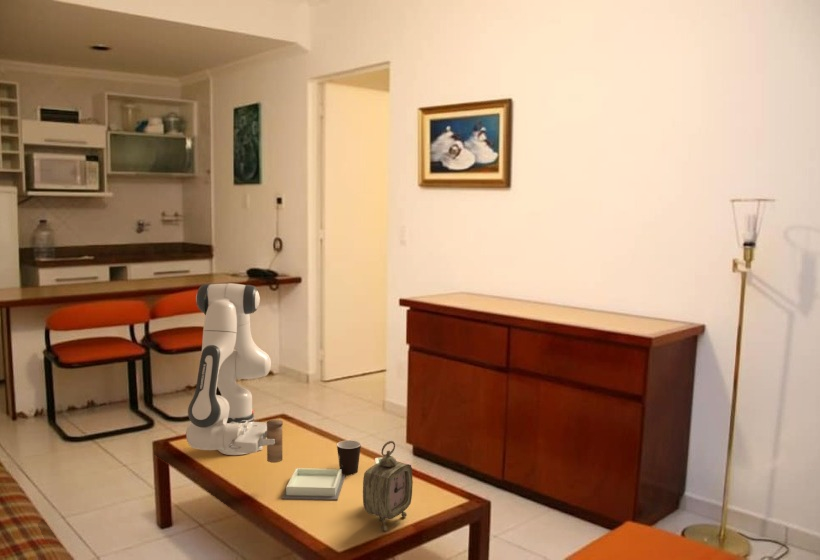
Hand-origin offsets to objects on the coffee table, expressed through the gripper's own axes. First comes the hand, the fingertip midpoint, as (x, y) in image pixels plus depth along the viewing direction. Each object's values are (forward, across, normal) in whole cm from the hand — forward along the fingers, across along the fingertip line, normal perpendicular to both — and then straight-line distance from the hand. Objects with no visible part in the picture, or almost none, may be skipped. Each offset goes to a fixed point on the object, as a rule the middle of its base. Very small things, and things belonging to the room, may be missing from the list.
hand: (277, 438), depth 224 cm
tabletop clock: (+38, -21, +18) cm, 47 cm away
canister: (-1, 0, +8) cm, 8 cm away
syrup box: (+36, -9, +18) cm, 41 cm away
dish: (+12, +3, +18) cm, 22 cm away
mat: (+12, +3, +18) cm, 22 cm away
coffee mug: (+22, +19, +18) cm, 34 cm away
